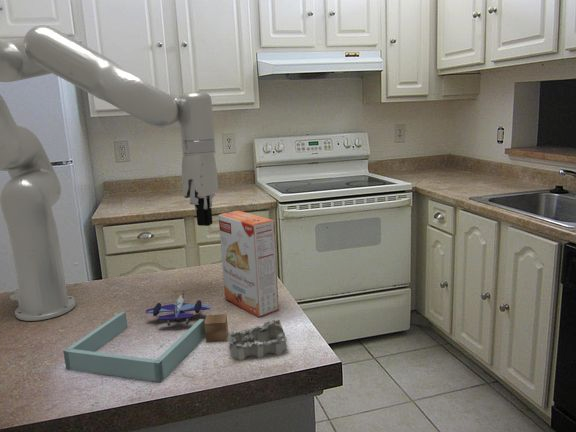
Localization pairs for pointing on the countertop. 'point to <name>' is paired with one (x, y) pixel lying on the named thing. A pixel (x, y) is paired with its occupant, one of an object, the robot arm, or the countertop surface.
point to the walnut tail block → (216, 328)
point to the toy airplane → (177, 309)
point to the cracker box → (249, 261)
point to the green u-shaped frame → (88, 360)
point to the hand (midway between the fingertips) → (205, 224)
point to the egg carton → (261, 334)
